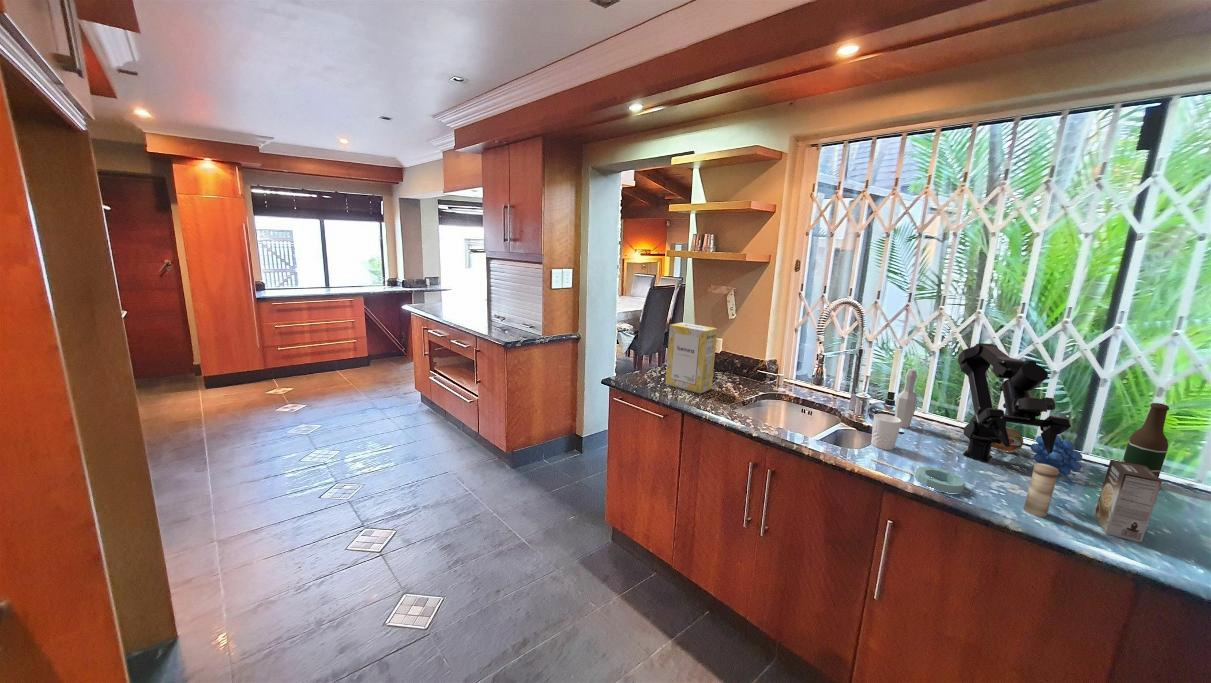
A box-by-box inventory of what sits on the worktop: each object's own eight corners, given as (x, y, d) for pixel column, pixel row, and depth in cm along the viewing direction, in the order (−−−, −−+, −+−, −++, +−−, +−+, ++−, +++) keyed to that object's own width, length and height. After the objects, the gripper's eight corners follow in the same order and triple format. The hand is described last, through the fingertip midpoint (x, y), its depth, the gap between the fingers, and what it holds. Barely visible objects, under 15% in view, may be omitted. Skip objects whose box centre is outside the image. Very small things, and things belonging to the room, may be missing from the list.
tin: (963, 441, 162) (968, 418, 161) (965, 438, 164) (970, 416, 163) (1019, 456, 151) (1025, 432, 149) (1021, 454, 153) (1027, 430, 152)
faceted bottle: (891, 426, 173) (902, 369, 169) (892, 421, 178) (902, 366, 174) (911, 430, 170) (922, 373, 165) (911, 425, 175) (922, 369, 170)
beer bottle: (1143, 476, 141) (1167, 402, 136) (1164, 488, 134) (1189, 410, 129) (1111, 471, 144) (1133, 398, 138) (1129, 482, 136) (1153, 406, 131)
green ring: (922, 470, 138) (924, 463, 137) (967, 486, 130) (969, 478, 129) (909, 481, 131) (911, 473, 131) (956, 498, 123) (958, 490, 122)
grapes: (1024, 469, 142) (1033, 433, 139) (1026, 463, 146) (1035, 428, 144) (1077, 484, 134) (1088, 446, 131) (1077, 477, 138) (1088, 440, 136)
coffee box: (1091, 516, 117) (1109, 458, 114) (1127, 524, 114) (1146, 465, 111) (1105, 534, 110) (1124, 472, 106) (1144, 544, 106) (1164, 480, 103)
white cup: (900, 452, 150) (905, 423, 148) (874, 449, 152) (879, 420, 150) (890, 442, 158) (895, 415, 156) (865, 439, 159) (870, 412, 157)
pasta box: (665, 384, 213) (669, 324, 207) (677, 379, 221) (681, 322, 215) (700, 393, 201) (706, 331, 195) (711, 388, 209) (717, 328, 203)
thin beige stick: (872, 459, 144) (872, 458, 144) (915, 475, 135) (916, 473, 135) (871, 460, 143) (871, 459, 143) (914, 476, 134) (915, 474, 134)
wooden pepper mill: (1025, 505, 121) (1036, 461, 118) (1048, 513, 118) (1060, 468, 115) (1021, 510, 118) (1033, 466, 116) (1045, 519, 115) (1057, 473, 112)
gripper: (991, 380, 127) (1001, 432, 119) (1076, 389, 122) (1092, 444, 114) (973, 398, 136) (981, 447, 128) (1051, 408, 131) (1065, 460, 123)
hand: (1028, 449), depth 123 cm, fingers open, 9 cm apart
